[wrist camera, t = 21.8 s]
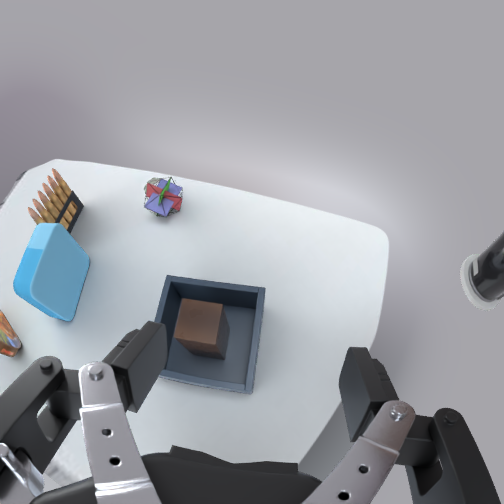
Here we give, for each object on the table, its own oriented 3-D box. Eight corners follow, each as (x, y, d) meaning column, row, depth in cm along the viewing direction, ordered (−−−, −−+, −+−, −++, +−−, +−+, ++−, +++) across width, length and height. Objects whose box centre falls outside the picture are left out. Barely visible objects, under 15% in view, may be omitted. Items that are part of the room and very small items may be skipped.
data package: (73, 257, 45) (39, 218, 35) (92, 259, 45) (58, 218, 34) (53, 319, 39) (9, 289, 29) (72, 324, 39) (28, 294, 28)
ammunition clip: (77, 205, 51) (51, 165, 41) (83, 205, 51) (58, 164, 41) (55, 249, 46) (22, 211, 35) (62, 250, 46) (28, 212, 35)
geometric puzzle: (199, 191, 49) (168, 160, 44) (183, 222, 46) (148, 190, 41) (176, 201, 53) (146, 174, 49) (160, 230, 50) (127, 202, 45)
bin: (263, 306, 41) (265, 287, 35) (252, 394, 34) (251, 391, 29) (178, 294, 42) (166, 274, 36) (160, 377, 35) (143, 371, 29)
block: (225, 360, 36) (215, 344, 27) (192, 354, 36) (173, 337, 28) (230, 329, 38) (222, 303, 30) (198, 324, 39) (182, 297, 30)
